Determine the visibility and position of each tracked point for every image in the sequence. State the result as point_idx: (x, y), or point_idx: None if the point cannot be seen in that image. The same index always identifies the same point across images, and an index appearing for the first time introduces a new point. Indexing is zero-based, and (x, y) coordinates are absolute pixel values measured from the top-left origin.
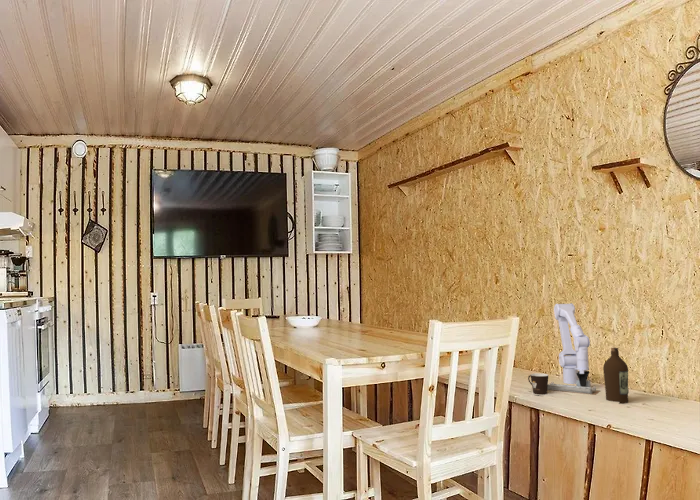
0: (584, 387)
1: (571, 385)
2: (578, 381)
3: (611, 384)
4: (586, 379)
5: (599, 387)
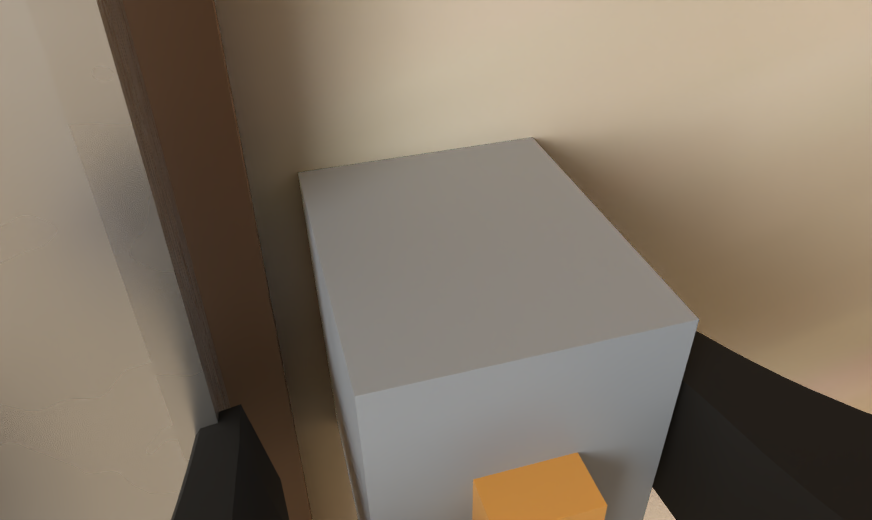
0: None
1: (121, 137)
2: (355, 432)
3: None
4: (683, 514)
5: None
